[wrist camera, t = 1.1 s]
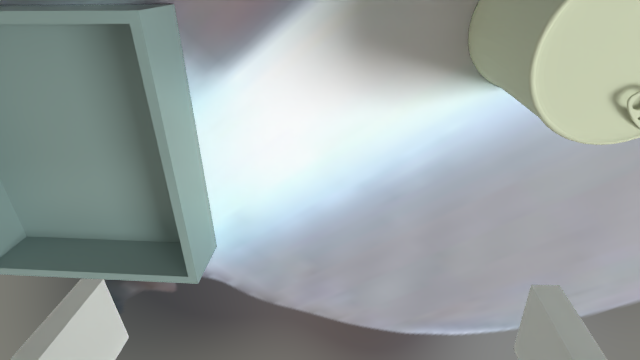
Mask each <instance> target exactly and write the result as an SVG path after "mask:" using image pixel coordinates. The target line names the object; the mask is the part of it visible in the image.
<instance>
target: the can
mask: <svg viewBox="0 0 640 360" xmlns="http://www.w3.org/2000/svg"><path fill="white" fill-rule="evenodd" d="M468 46H469V52H470V56H471V59H472V61H473V64H474V65H475V67H476V69H477V70H478V72H479V73H480V74H481V75H482V76H483V77H484V78H485V79H486V80H488V81H489V82H490V83H492V84H494V85H496V86H498V87H501V88H502V89H503V90H505V91H506V92H507V93H509V94H510V95H511V96H513V97H514V98H515V99H516V100H518V101H519V102H520V103H521V104H523V105H524V106H525V107H527V108H528V109H529V110H530V111H532V112H533V113H534V114H535V115H536V116H538V117H539V118H540V119H541V120H542V121H543V123H544V124H545V125H546V126H547V127H548V128H550V129H551V130H552V131H554V132H555V133H557V134H558V135H560V136H562V137H564V138H566V139H569V140H572V141H576V142H579V143H584V144H595V145H605V144H615V143H620V142H626V141H629V140H633V139H636V138H639V137H640V0H480V1H479V2H478V4H477V6H476V8H475V11H474V13H473V16H472V19H471V22H470V27H469V34H468Z"/></svg>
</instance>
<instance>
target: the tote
mask: <svg viewBox="0 0 640 360" xmlns="http://www.w3.org/2000/svg"><path fill="white" fill-rule="evenodd" d="M216 247H217V245H216V239H215V234H214V228H213V222H212V217H211V211H210V205H209V200H208V194H207V188H206V183H205V177H204V171H203V166H202V160H201V154H200V149H199V143H198V137H197V132H196V126H195V120H194V114H193V109H192V103H191V97H190V92H189V86H188V80H187V75H186V69H185V63H184V58H183V52H182V46H181V41H180V35H179V29H178V24H177V18H176V12H175V7H174V4H130V5H0V274H4V275H6V274H7V275H25V276H47V277H67V278H88V279H109V280H130V281H151V282H172V283H193V284H198V283H199V281H200V279H201V277H202V275H203V273H204V271H205V269H206V267H207V265H208V263H209V261H210V259H211V257H212V255H213V253H214V251H215V249H216Z"/></svg>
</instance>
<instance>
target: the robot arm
mask: <svg viewBox="0 0 640 360" xmlns="http://www.w3.org/2000/svg"><path fill="white" fill-rule="evenodd" d="M128 338H129V336H128V334H127V332H126V329H125V327H124V325H123V322H122V320H121V318H120V316H119V313H118V311H117V309H116V306H115V304H114V302H113V300H112V297H111V295H110V293H109V291H108V288H107V286H106V284H105V281H104V279H81V280H80V281H79V282H78V283H77V284H76V285H75V286H74V288H73V289H72V290H71V291H70V292H69V293H68V294H67V295H66V297H65V298H64V299H63V300H62V301H61V302H60V303H59V305H58V306H57V307H56V308H55V309H54V310H53V311H52V312H51V314H50V315H49V316H48V317H47V318H46V319H45V321H44V322H43V323H42V324H41V325H40V326H39V327H38V328H37V330H36V331H35V332H34V333H33V334H32V335H31V336H30V337H29V339H28V340H27V341H26V342H25V343H24V344H23V345H22V347H21V348H20V349H19V350H18V351H17V352H16V353H15V354H14V356H13V357H12V358H11V359H10V360H115V359H116V358H117V356H118V354H119V353H120V351H121V349H122V347H123V346H124V344H125V343H126V341H127V340H128ZM514 351H515V353H516V356H517V358H518V360H607V358H606V357H605V355H604V354H603V352H602V351H601V349H600V348H599V346H598V344H597V343H596V341H595V340H594V338H593V337H592V335H591V334H590V332H589V331H588V329H587V327H586V326H585V324H584V323H583V321H582V320H581V318H580V317H579V315H578V314H577V312H576V310H575V309H574V307H573V306H572V304H571V303H570V301H569V300H568V298H567V297H566V295H565V294H564V292H563V290H562V289H561V287H560V286H559V285H531V288H530V291H529V295H528V298H527V302H526V306H525V309H524V313H523V316H522V320H521V323H520V327H519V330H518V334H517V337H516V341H515V345H514Z"/></svg>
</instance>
